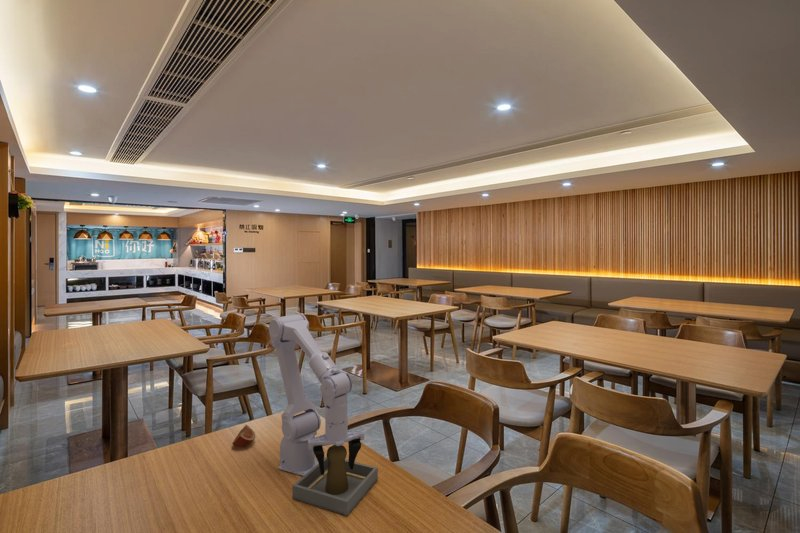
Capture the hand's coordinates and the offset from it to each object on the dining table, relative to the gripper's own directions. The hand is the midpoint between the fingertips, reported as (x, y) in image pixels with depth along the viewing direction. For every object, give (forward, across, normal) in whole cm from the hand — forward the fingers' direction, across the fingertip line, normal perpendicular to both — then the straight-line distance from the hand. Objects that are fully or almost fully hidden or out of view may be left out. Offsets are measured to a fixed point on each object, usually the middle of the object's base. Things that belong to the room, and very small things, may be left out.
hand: (336, 470), depth 106 cm
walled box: (+5, 0, 0) cm, 5 cm away
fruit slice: (+6, -23, +34) cm, 41 cm away
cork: (+5, 0, 0) cm, 5 cm away
